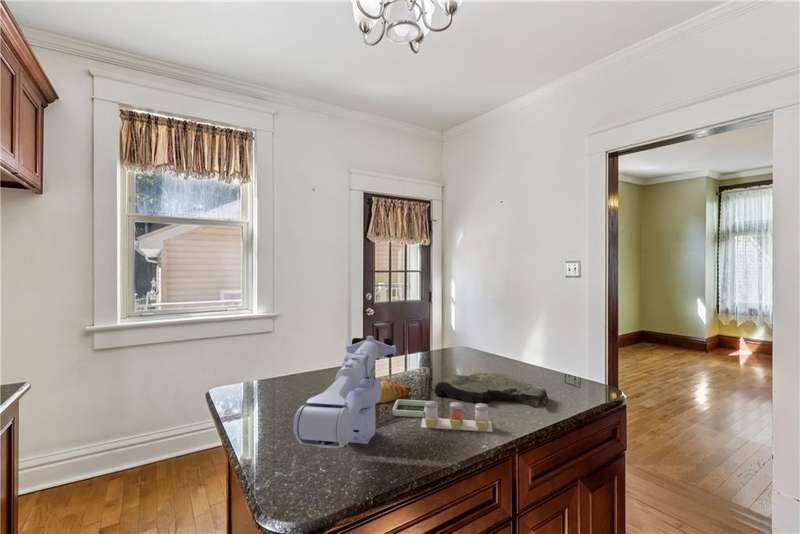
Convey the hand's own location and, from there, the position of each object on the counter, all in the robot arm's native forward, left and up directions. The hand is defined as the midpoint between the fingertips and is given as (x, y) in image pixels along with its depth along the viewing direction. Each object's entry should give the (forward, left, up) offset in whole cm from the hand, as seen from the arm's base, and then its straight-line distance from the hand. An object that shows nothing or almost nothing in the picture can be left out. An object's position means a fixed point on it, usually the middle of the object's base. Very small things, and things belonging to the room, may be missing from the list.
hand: (377, 340), depth 120 cm
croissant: (+8, 0, -22) cm, 24 cm away
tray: (-2, -11, -22) cm, 24 cm away
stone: (+16, -36, -22) cm, 45 cm away
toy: (+26, +10, -22) cm, 35 cm away
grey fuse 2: (-10, -32, -21) cm, 39 cm away
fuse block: (-10, -25, -22) cm, 34 cm away
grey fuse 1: (-10, -18, -21) cm, 29 cm away
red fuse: (-10, -25, -21) cm, 34 cm away
